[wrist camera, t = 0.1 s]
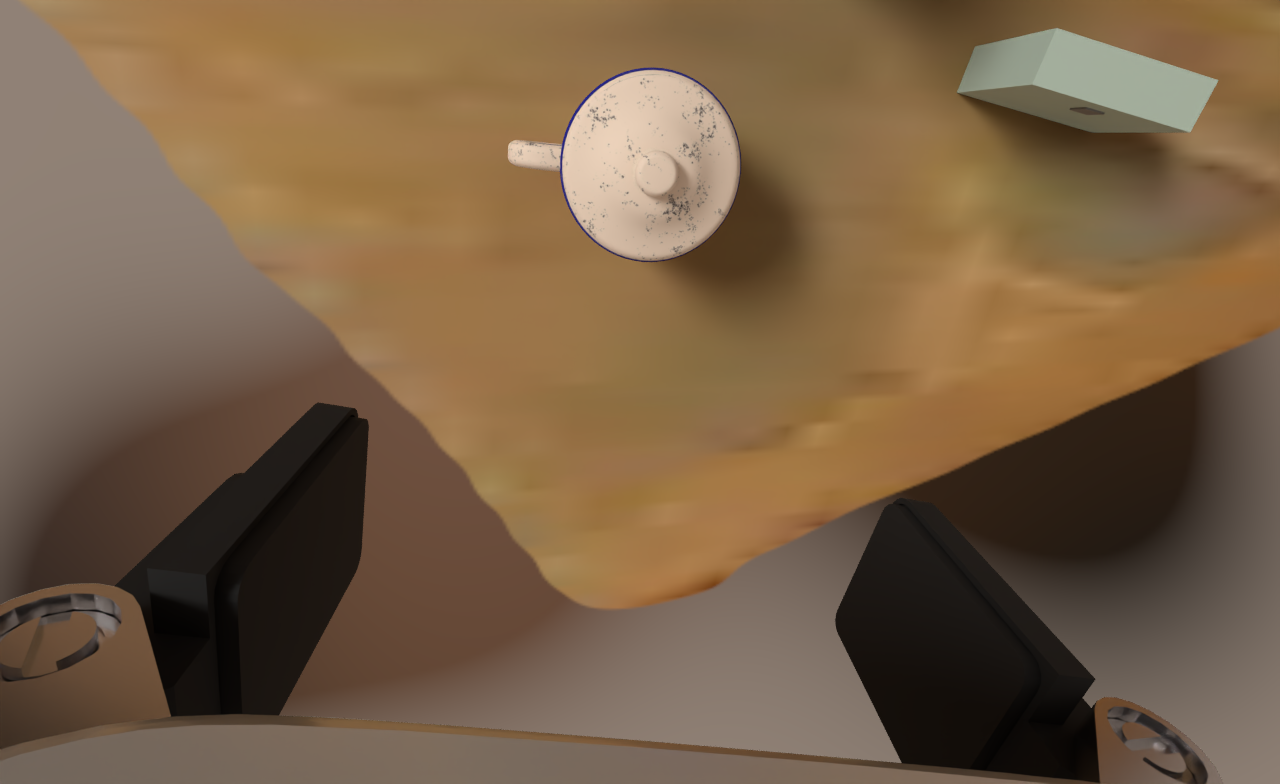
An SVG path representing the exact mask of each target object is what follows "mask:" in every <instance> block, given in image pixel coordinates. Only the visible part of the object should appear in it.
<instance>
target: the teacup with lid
mask: <svg viewBox="0 0 1280 784" xmlns="http://www.w3.org/2000/svg"><path fill="white" fill-rule="evenodd" d="M508 159H509V161H510V162H511V163H512V164H513V165H515V166H519V167H525V168H531V169H539V170H547V171H556V172H560V176H561V183H562V189H563V192H564V196H565V199H566V202H567V204H568V207H569V209H570V211H571V213H572V215H573V217H574V218H575V220H576V222H577V223H578V224H579V226H580V227H581V228H582V230H583V231H584V232H585V233H586V234H587V235H588V236H589V237H590V238H591V239H592V240H593V241H594V242H595V243H597V244H598V245H599V246H601V247H602V248H604V249H605V250H607V251H609V252H611V253H613V254H615V255H617V256H620V257H623V258H626V259H630V260H634V261H641V262H658V261H665V260H669V259H673V258H676V257H679V256H682V255H684V254H686V253H688V252H691V251H692V250H694V249H696V248H697V247H699V246H700V245H701V244H703V243H704V242H705V241H706V240H708V239H709V238H710V237H711V236H712V235H713V234H714V233H715V232H716V231H717V229H718V228H719V227H720V226H721V224H722V223H723V221H724V220H725V218H726V217H727V215H728V213H729V211H730V209H731V207H732V205H733V203H734V200H735V197H736V194H737V191H738V186H739V182H740V174H741V153H740V146H739V141H738V137H737V133H736V130H735V128H734V125H733V123H732V121H731V118H730V116H729V115H728V113H727V111H726V110H725V108H724V107H723V105H722V104H721V102H720V101H719V100H718V99H717V98H716V97H715V95H714V94H713V93H712V92H711V91H709V90H708V89H707V88H706V87H705V86H704V85H702V84H701V83H699V82H698V81H696V80H695V79H693V78H691V77H689V76H687V75H685V74H682V73H680V72H676V71H673V70H669V69H663V68H640V69H634V70H630V71H626V72H623V73H621V74H618V75H616V76H614V77H612V78H610V79H608V80H606V81H605V82H603V83H602V84H600V85H599V86H598V87H597V88H595V89H594V90H593V91H592V92H591V93H590V94H589V95H588V96H587V97H586V98H585V99H584V100H583V102H582V103H581V104H580V105H579V107H578V108H577V110H576V111H575V113H574V115H573V116H572V118H571V120H570V122H569V125H568V127H567V130H566V132H565V136H564V139H563V143H562V144H554V143H545V142H535V141H523V140H514V141H512V142H510V144H509V146H508Z"/></svg>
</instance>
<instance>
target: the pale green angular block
mask: <svg viewBox="0 0 1280 784" xmlns="http://www.w3.org/2000/svg"><path fill="white" fill-rule="evenodd" d="M1217 82H1218V80H1216V79H1213V78H1209V77H1206V76H1203V75H1200V74H1197V73H1194V72H1191V71H1188V70H1185V69H1182V68H1179V67H1176V66H1172V65H1169V64H1166V63H1163V62H1160V61H1157V60H1154V59H1151V58H1148V57H1145V56H1142V55H1138V54H1135V53H1132V52H1129V51H1126V50H1123V49H1120V48H1117V47H1114V46H1111V45H1108V44H1105V43H1101V42H1098V41H1095V40H1092V39H1089V38H1086V37H1083V36H1080V35H1077V34H1074V33H1071V32H1067V31H1064V30H1061V29H1058V28H1055V29H1050V30H1046V31H1041V32H1037V33H1033V34H1028V35H1024V36H1019V37H1015V38H1011V39H1006V40H1002V41H997V42H993V43H989V44H984V45H980V46H975V48H974V51H973V53H972V56H971V58H970V61H969V63H968V66H967V68H966V71H965V73H964V76H963V79H962V81H961V84H960V86H959V89H958V91H957V93H959V94H963V95H966V96H969V97H973V98H976V99H980V100H983V101H986V102H990V103H993V104H997V105H1000V106H1003V107H1007V108H1010V109H1014V110H1017V111H1020V112H1024V113H1027V114H1031V115H1034V116H1037V117H1041V118H1044V119H1047V120H1051V121H1054V122H1058V123H1061V124H1064V125H1068V126H1071V127H1075V128H1078V129H1081V130H1085V131H1088V132H1092V133H1175V132H1191V130H1192V128H1193V126H1194V125H1195V123H1196V121H1197V119H1198V117H1199V115H1200V113H1201V112H1202V110H1203V108H1204V106H1205V104H1206V102H1207V101H1208V99H1209V97H1210V95H1211V93H1212V91H1213V90H1214V88H1215V86H1216V84H1217Z"/></svg>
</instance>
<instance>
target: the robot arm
mask: <svg viewBox="0 0 1280 784" xmlns="http://www.w3.org/2000/svg"><path fill="white" fill-rule="evenodd" d="M368 430H369V425H368V421H367V419H362V418H358V413H357V410H356V409H355V408H349V407H343V406H337V405H330V404H324V403H317V404H315V405H314V406H313V407H312V408H311V409H310V410H309V411H307V413H305V415H304V416H302V417H301V418H300V419H299V420H298V421H297V422H296V423H295V424H294V425H293V426H292V427H291V428H290V429H289V430H288V431H287V432H286V433H285V434H284V435H283V436H282V437H281V438H280V439H279V440H278V441H277V442H276V443H275V444H274V445H273V446H272V447H271V448H270V449H269V450H268V451H266V452H265V453H264V454H263V456H261V457H260V458H259V459H258V461H256V462H255V463H254V464H253V465H252V466H251V467H250V468H249V469H248V470H247V471H246V472H245V473H238V474H234V475H233V476H232V477H230V478H228V479H227V480H226V481H225V482H224V483H223V484H222V485H221V486H220V487H219V488H217V489H216V490H215V491H214V492H213V493H212V494H211V495H210V496H209V497H208V498H207V499H206V500H205V501H204V502H203V503H202V504H201V505H200V506H199V507H197V508H196V509H195V510H194V511H193V512H192V513H191V514H190V515H189V516H188V517H187V518H186V519H185V520H184V521H183V522H182V523H181V524H180V525H179V526H177V527H176V528H175V529H174V530H173V531H172V532H171V533H170V534H169V535H168V536H167V537H166V538H165V539H164V540H163V541H162V542H160V543H159V544H158V545H157V546H156V547H155V548H154V549H153V550H152V551H151V552H150V553H149V554H148V555H147V556H146V557H145V558H144V559H142V560H141V561H140V562H139V563H138V564H137V566H135V567H134V568H133V569H132V570H131V571H130V572H129V573H128V574H127V575H126V576H125V577H123V579H121V580H120V581H119V582H118V583H117V584H116V585H115V586H108V585H102V584H97V583H96V584H95V583H94V584H69V585H63V586H58V587H52V588H47V589H41V590H38V591H35V592H32V593H29V594H26V595H23V596H20V597H17V598H14V599H11V600H9V601H7V602H5V603H3V604H1V605H0V784H1223V781H1222V779H1221V777H1220V775H1219V773H1218V771H1217V769H1216V767H1215V766H1214V764H1213V763H1212V762H1211V761H1210V759H1209V758H1208V757H1207V756H1206V754H1205V753H1204V752H1203V751H1202V750H1201V749H1200V748H1199V747H1198V746H1197V745H1196V744H1195V743H1194V742H1193V741H1191V739H1189V738H1188V737H1187V736H1186V735H1185V734H1184V733H1182V732H1181V731H1180V730H1178V729H1177V728H1176V727H1174V726H1173V725H1172V724H1170V723H1169V722H1168V721H1166V720H1164V719H1163V718H1161V717H1159V716H1158V715H1156V714H1154V713H1153V712H1151V711H1150V710H1147V709H1146V708H1143V707H1141V706H1139V705H1137V704H1135V703H1133V702H1130V701H1126V700H1123V699H1119V698H1115V697H1114V698H1113V697H1104V698H1102V699H1100V700H1098V701H1096V703H1095V705H1093V707H1092V708H1090V706H1089V705H1088V704H1087V703H1086V702H1085V701H1084V699H1083V698H1082V697H1083V696H1084V695H1085V693H1086V692H1087V690H1088V689H1089V687H1090V686H1091V685H1092V683H1093V682H1094V680H1095V678H1094V677H1093V676H1092V675H1091V674H1090V673H1089V672H1088V671H1087V670H1086V668H1085V667H1084V666H1083V665H1082V664H1081V663H1080V662H1079V661H1078V660H1077V659H1076V658H1075V656H1073V654H1072V653H1071V652H1070V651H1069V650H1068V649H1067V648H1066V647H1065V646H1064V645H1063V643H1062V642H1060V640H1059V639H1058V638H1057V637H1056V636H1055V635H1054V634H1053V633H1052V632H1051V631H1050V629H1049V628H1048V627H1047V626H1046V625H1045V624H1044V623H1043V622H1042V621H1041V620H1040V619H1039V618H1038V616H1037V615H1036V614H1035V613H1034V612H1033V611H1032V610H1031V609H1030V608H1029V607H1028V606H1027V605H1026V604H1025V602H1024V601H1023V600H1022V599H1021V598H1020V597H1019V596H1018V595H1017V594H1016V593H1015V592H1014V591H1013V589H1012V588H1011V587H1010V586H1009V585H1008V584H1007V583H1006V582H1005V581H1004V580H1003V579H1002V578H1001V576H1000V575H999V574H998V573H997V572H996V571H995V570H994V569H993V568H992V567H991V566H990V565H989V564H988V562H987V561H986V560H985V559H984V558H983V557H982V556H981V555H980V554H979V553H978V552H977V551H976V549H975V548H973V546H972V545H971V544H970V543H969V542H968V541H967V540H966V539H965V538H964V537H963V535H961V533H960V532H959V531H958V530H957V529H956V528H955V527H954V526H953V525H952V524H951V522H950V521H949V520H948V519H947V518H946V517H945V516H944V515H943V514H942V513H941V512H940V511H939V509H938V508H937V507H936V506H935V505H933V504H932V503H929V502H924V501H917V500H911V499H905V498H899V499H897V500H896V501H895V502H893V504H889V505H887V506H886V507H885V508H884V510H883V512H882V514H881V516H880V519H879V521H878V523H877V525H876V527H875V529H874V532H873V534H872V536H871V538H870V540H869V543H868V545H867V547H866V549H865V551H864V553H863V556H862V558H861V560H860V562H859V564H858V567H857V569H856V571H855V573H854V576H853V577H852V580H851V582H850V584H849V586H848V588H847V591H846V593H845V595H844V597H843V599H842V601H841V604H840V606H839V608H838V610H837V613H836V619H835V621H836V629H837V632H838V635H839V637H840V638H841V641H842V643H843V645H844V647H845V649H846V651H847V653H848V655H849V657H850V659H851V661H852V663H853V665H854V667H855V669H856V671H857V673H858V675H859V677H860V679H861V681H862V683H863V685H864V687H865V689H866V691H867V693H868V695H869V697H870V699H871V701H872V703H873V705H874V707H875V709H876V711H877V713H878V716H879V718H880V720H881V722H882V723H883V726H884V727H885V730H886V732H887V734H888V736H889V737H890V740H891V742H892V744H893V746H894V748H895V750H896V752H897V754H898V756H899V758H900V760H901V762H902V763H893V762H883V761H872V760H861V759H850V758H837V757H827V756H814V755H804V754H792V753H781V752H769V751H758V750H757V751H756V750H746V749H734V748H723V747H710V746H699V745H687V744H674V743H663V742H651V741H639V740H627V739H615V738H602V737H590V736H577V735H564V734H552V733H551V734H550V733H539V732H527V731H514V730H501V729H489V728H475V727H463V726H451V725H436V724H422V723H408V722H407V723H406V722H392V721H378V720H362V719H346V718H327V717H308V716H279V714H280V712H281V710H282V709H283V707H284V705H285V703H286V701H287V699H288V697H289V695H290V694H291V692H292V690H293V688H294V686H295V684H296V683H297V681H298V678H299V677H300V675H301V673H302V671H303V670H304V668H305V666H306V664H307V662H308V660H309V658H310V657H311V655H312V653H313V651H314V649H315V647H316V645H317V644H318V642H319V640H320V638H321V636H322V634H323V632H324V630H325V629H326V627H327V625H328V623H329V621H330V619H331V617H332V616H333V614H334V612H335V610H336V608H337V606H338V604H339V602H340V601H341V599H342V597H343V595H344V593H345V591H346V590H347V588H348V586H349V584H350V582H351V580H352V578H353V577H354V574H355V573H356V570H357V568H358V565H359V561H360V557H361V549H362V533H363V516H364V498H365V482H366V465H367V447H368Z"/></svg>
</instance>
